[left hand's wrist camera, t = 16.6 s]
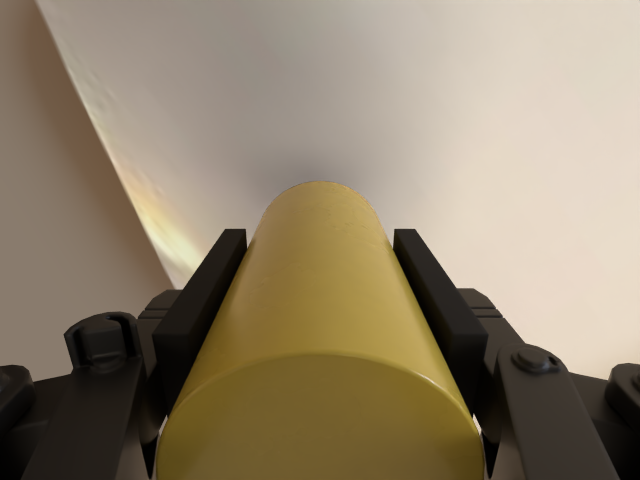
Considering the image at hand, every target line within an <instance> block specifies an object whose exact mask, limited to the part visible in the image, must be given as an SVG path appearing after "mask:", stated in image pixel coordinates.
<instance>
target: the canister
mask: <svg viewBox="0 0 640 480" xmlns="http://www.w3.org/2000/svg"><path fill="white" fill-rule="evenodd" d="M484 472H485V458H484V450H483V445H482V442H481V439H480V436H479V432H478V430H477V428H476V425H475V423H474V421H473V419H472V417H471V415H470V413H469V411H468V408H467V406H466V404H465V402H464V400H463V398H462V396H461V393H460V391H459V389H458V387H457V385H456V383H455V381H454V379H453V376H452V374H451V372H450V370H449V368H448V366H447V364H446V361H445V359H444V357H443V355H442V353H441V351H440V349H439V347H438V344H437V342H436V340H435V338H434V336H433V334H432V332H431V329H430V327H429V325H428V323H427V321H426V319H425V317H424V315H423V312H422V310H421V308H420V306H419V304H418V302H417V300H416V297H415V295H414V293H413V291H412V289H411V287H410V285H409V283H408V280H407V278H406V276H405V274H404V272H403V270H402V268H401V266H400V263H399V261H398V259H397V257H396V255H395V253H394V251H393V248H392V246H391V244H390V242H389V240H388V238H387V236H386V234H385V231H384V229H383V227H382V225H381V223H380V221H379V219H378V217H377V215H376V213H375V211H374V209H373V208H372V206H371V205H370V204H369V203H368V202H367V201H366V199H365V198H364V197H362V196H361V195H360V194H359V193H357V192H356V191H354V190H352V189H351V188H348V187H346V186H344V185H341V184H337V183H334V182H327V181H313V182H307V183H303V184H299V185H296V186H294V187H291V188H290V189H288V190H286V191H284V192H283V193H282V194H280V195H279V196H278V197H277V198H276V199H275V200H274V201H273V202H272V203H271V204H270V205H269V207H268V208H267V209H266V211H265V213H264V215H263V216H262V219H261V221H260V223H259V225H258V227H257V229H256V231H255V234H254V236H253V238H252V240H251V242H250V244H249V246H248V249H247V251H246V253H245V255H244V257H243V259H242V261H241V264H240V266H239V268H238V270H237V272H236V274H235V276H234V279H233V281H232V283H231V285H230V287H229V289H228V291H227V294H226V296H225V298H224V300H223V302H222V304H221V306H220V309H219V311H218V313H217V315H216V317H215V319H214V321H213V323H212V326H211V328H210V330H209V332H208V334H207V336H206V338H205V341H204V343H203V345H202V347H201V349H200V351H199V353H198V356H197V358H196V360H195V362H194V364H193V366H192V368H191V371H190V373H189V375H188V377H187V379H186V381H185V383H184V386H183V388H182V390H181V392H180V394H179V396H178V398H177V401H176V403H175V405H174V407H173V409H172V411H171V413H170V416H169V418H168V420H167V422H166V424H165V426H164V429H163V431H162V434H161V437H160V439H159V442H158V447H157V453H156V480H484Z"/></svg>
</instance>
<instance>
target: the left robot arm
mask: <svg viewBox="0 0 640 480" xmlns="http://www.w3.org/2000/svg"><path fill="white" fill-rule="evenodd" d="M246 251H247V240H246V229H225V230H224V231H223V233H222V234H221V236H220V237H219V239H218V240H217V241H216V243H215V244H214V246H213V247H212V249H211V250H210V251H209V253H208V254H207V256H206V257H205V259H204V260H203V261H202V263H201V264H200V266H199V267H198V269H197V270H196V271H195V273H194V274H193V276H192V277H191V279H190V280H189V281H188V283H187V284H186V286H185V287H184V289H183V290H166V291H164V292H163V293H161V294H159V295H158V296H156V297H155V298H153V299H152V300H151V302H150V303H149V304H148V305H147V307H146V308H145V311H142V313H141V314H140V315H139V316H138V319H136V318H135V317H134V316H132V315H131V314H130V313H124V312H106V313H102V314H97V315H93V316H91V317H88V318H86V319H83V320H81V321H79V322H78V323H76V324H74V325H73V326H71V327H70V328H69V329H68V330H67V331H66V332H65V333H64V338H65V341H66V344H67V348H68V351H69V355H70V358H71V362H72V365H73V370H72V372H71V374H68V375H64V376H60V377H55V378H50V379H45V380H40V381H35V382H33V381H32V378H31V375H30V373H29V370H28V369H26V368H25V367H24V366H18V365H7V366H0V480H156V453H157V447H158V442H159V439H160V434H159V430H160V428H161V425H162V423H163V421H164V419H165V417H166V415H167V418H169V416H170V413H171V411H172V409H173V407H174V405H175V403H176V401H177V398H178V396H179V394H180V392H181V390H182V388H183V386H184V383H185V381H186V379H187V377H188V375H189V373H190V371H191V368H192V366H193V364H194V362H195V360H196V358H197V356H198V353H199V351H200V349H201V347H202V345H203V343H204V341H205V338H206V336H207V334H208V332H209V330H210V328H211V326H212V323H213V321H214V319H215V317H216V315H217V313H218V311H219V309H220V306H221V304H222V302H223V300H224V298H225V296H226V294H227V291H228V289H229V287H230V285H231V283H232V281H233V279H234V276H235V274H236V272H237V270H238V268H239V266H240V264H241V261H242V259H243V257H244V255H245V253H246ZM393 251H394V253H395V255H396V257H397V259H398V261H399V263H400V266H401V268H402V270H403V272H404V274H405V276H406V278H407V280H408V283H409V285H410V287H411V289H412V291H413V293H414V295H415V297H416V300H417V302H418V304H419V306H420V308H421V310H422V312H423V315H424V317H425V319H426V321H427V323H428V325H429V327H430V329H431V332H432V334H433V336H434V338H435V340H436V342H437V344H438V347H439V349H440V351H441V353H442V355H443V357H444V359H445V361H446V364H447V366H448V368H449V370H450V372H451V374H452V376H453V379H454V381H455V383H456V385H457V387H458V389H459V391H460V393H461V396H462V398H463V400H464V402H465V404H466V406H467V408H468V411H469V413H470V415H471V417H472V419H473V414H474V415H475V417H476V419H477V421H478V423H479V425H480V427H481V434H480V439H481V442H482V445H483V450H484V458H485V472H484V480H640V365H639V364H632V363H625V364H618V365H617V366H615V367H614V368H613V369H612V371H611V373H610V376H609V379H608V380H603V379H599V378H594V377H589V376H584V375H579V374H575V373H571V372H568V369H567V368H566V366H565V365H564V364H563V362H562V361H561V360H560V359H559V358H557V357H556V356H555V355H553V354H552V353H551V352H549V351H546V350H544V349H542V348H540V347H538V346H534V345H530V344H526V343H525V342H524V341H523V340H522V339H521V337H520V336H519V335H518V334H517V333H516V331H515V330H514V329H513V328H512V327H511V325H510V324H509V323H508V322H507V320H506V319H505V318H503V316H502V314H501V313H500V312H499V311H498V309H496V307H495V306H494V305H493V303H492V302H491V301H490V300H489V299H488V297H486V296H485V295H483V294H481V293H480V292H478V291H477V290H475V289H473V288H456V287H455V285H454V284H453V283H452V281H451V280H450V278H449V277H448V275H447V274H446V273H445V271H444V270H443V268H442V267H441V265H440V264H439V263H438V261H437V260H436V258H435V257H434V255H433V254H432V253H431V251H430V250H429V248H428V247H427V245H426V244H425V243H424V241H423V240H422V238H421V237H420V235H419V234H418V233H417V231H416V230H415V229H395V230H394V243H393Z"/></svg>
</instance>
